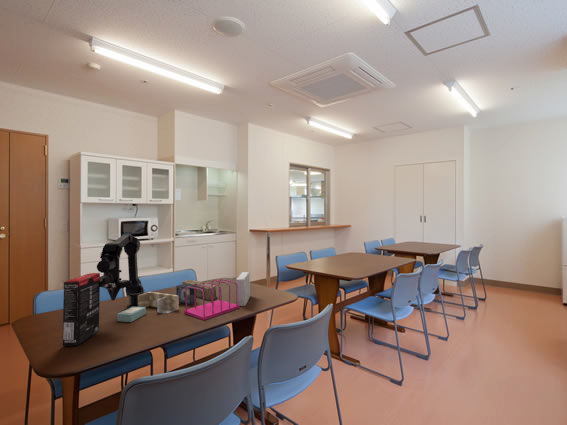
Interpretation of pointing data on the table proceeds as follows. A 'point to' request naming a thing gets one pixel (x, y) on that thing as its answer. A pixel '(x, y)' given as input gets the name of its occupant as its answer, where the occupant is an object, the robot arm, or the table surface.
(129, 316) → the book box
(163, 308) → the bookend
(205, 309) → the file sorter
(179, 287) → the small box
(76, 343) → the graphics card box
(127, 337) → the table surface
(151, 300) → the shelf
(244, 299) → the skincare box
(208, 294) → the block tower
